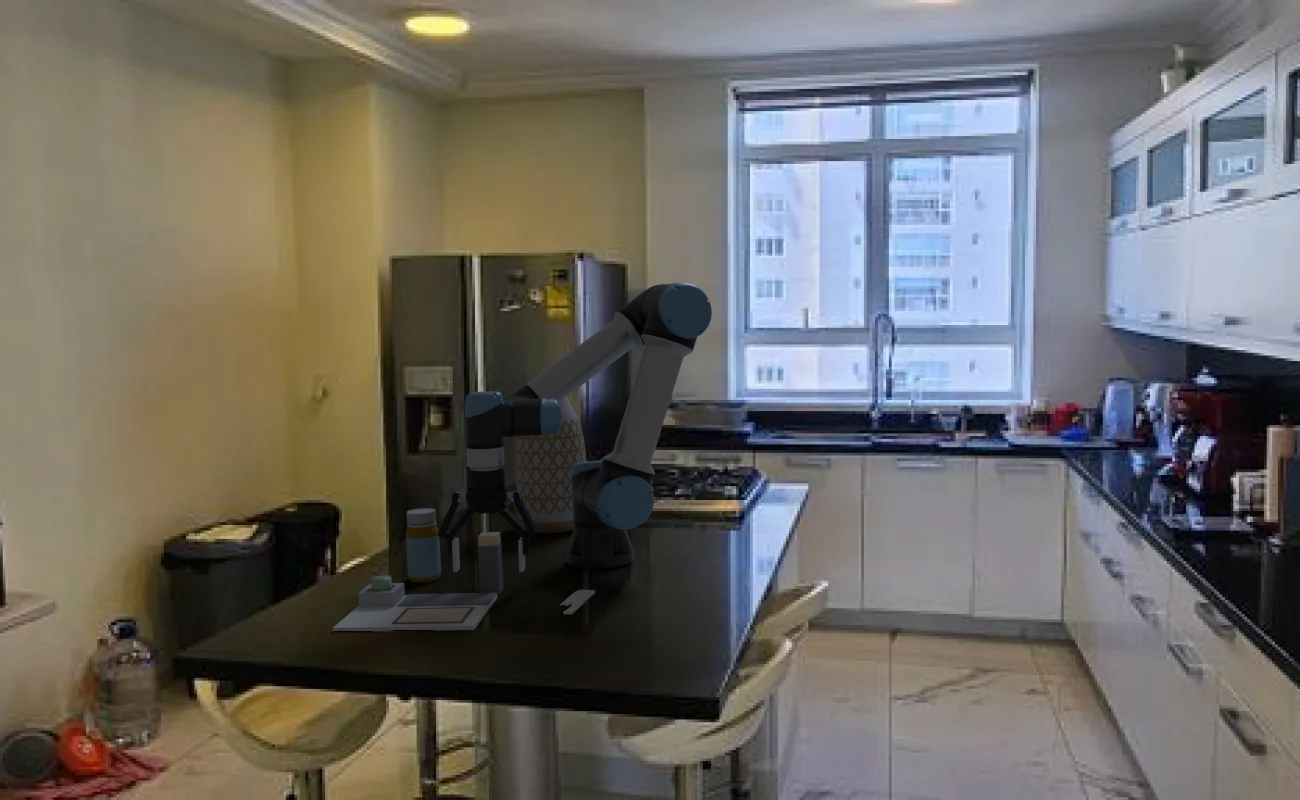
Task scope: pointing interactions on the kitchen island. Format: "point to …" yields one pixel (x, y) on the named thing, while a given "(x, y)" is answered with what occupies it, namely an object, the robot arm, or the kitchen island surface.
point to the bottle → (422, 546)
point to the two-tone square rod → (490, 562)
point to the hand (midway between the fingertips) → (489, 570)
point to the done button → (381, 583)
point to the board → (415, 611)
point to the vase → (550, 472)
